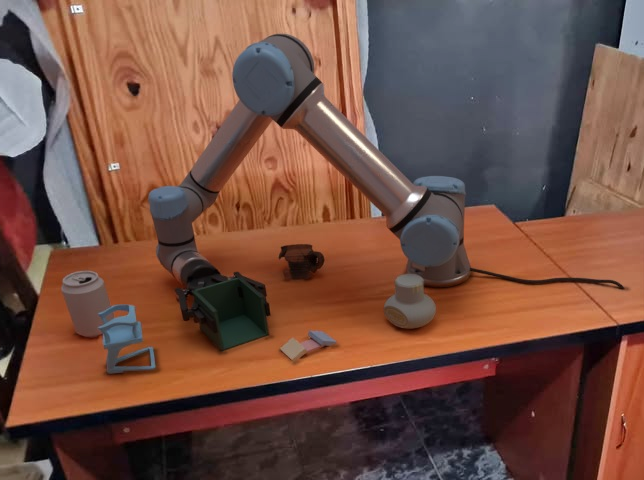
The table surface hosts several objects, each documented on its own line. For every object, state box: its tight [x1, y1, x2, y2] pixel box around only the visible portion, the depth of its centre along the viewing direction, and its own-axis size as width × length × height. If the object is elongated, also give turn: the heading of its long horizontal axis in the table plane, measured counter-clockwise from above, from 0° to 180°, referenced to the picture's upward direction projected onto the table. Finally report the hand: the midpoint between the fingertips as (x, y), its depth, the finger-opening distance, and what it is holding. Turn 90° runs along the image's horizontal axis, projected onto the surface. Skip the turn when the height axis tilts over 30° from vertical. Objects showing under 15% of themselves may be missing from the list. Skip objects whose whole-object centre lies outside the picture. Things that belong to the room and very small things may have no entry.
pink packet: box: [299, 338, 325, 355], centre depth 134 cm, size 5×3×1 cm
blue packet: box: [307, 329, 337, 347], centre depth 135 cm, size 5×3×1 cm
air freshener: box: [383, 273, 437, 330], centre depth 141 cm, size 11×8×10 cm
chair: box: [98, 303, 157, 375], centre depth 125 cm, size 8×8×12 cm
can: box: [60, 270, 116, 338], centre depth 134 cm, size 8×8×12 cm
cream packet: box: [279, 336, 307, 362], centre depth 132 cm, size 5×3×1 cm
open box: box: [191, 277, 270, 353], centre depth 135 cm, size 10×10×9 cm
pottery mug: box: [277, 243, 326, 281], centre depth 160 cm, size 12×10×8 cm
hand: (242, 318), depth 131 cm, fingers closed on open box, 10 cm apart
